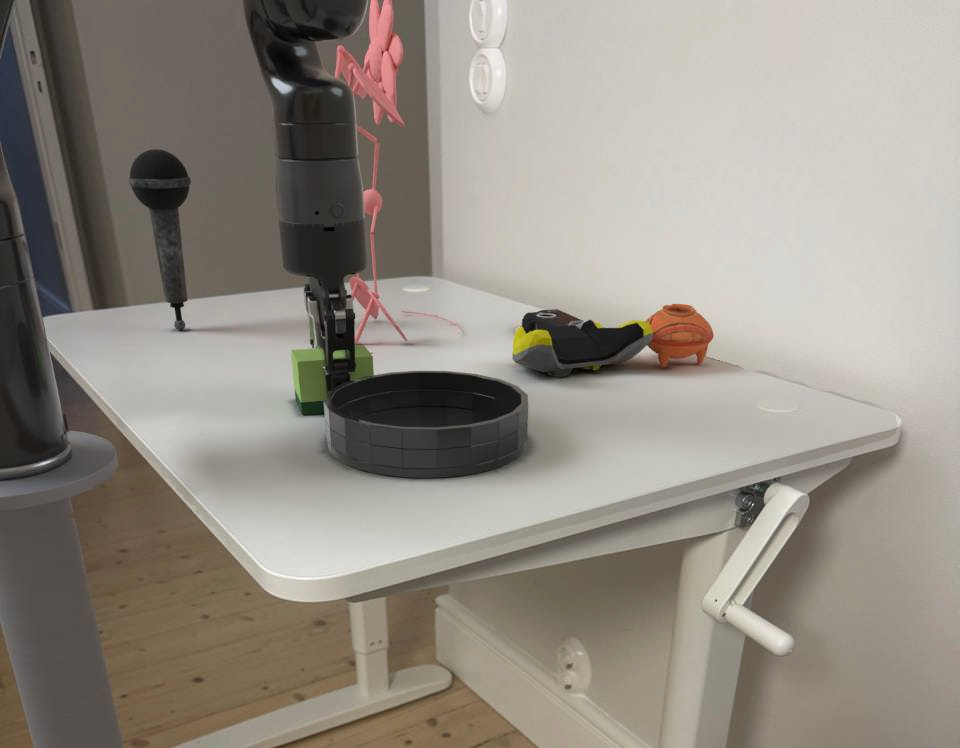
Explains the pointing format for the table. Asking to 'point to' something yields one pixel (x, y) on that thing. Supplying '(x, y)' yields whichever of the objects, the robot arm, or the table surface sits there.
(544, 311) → the camera
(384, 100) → the figurine
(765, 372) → the table surface
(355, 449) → the pan
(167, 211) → the microphone
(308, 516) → the table surface
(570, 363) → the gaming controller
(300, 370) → the sponge
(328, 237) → the robot arm
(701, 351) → the pot
